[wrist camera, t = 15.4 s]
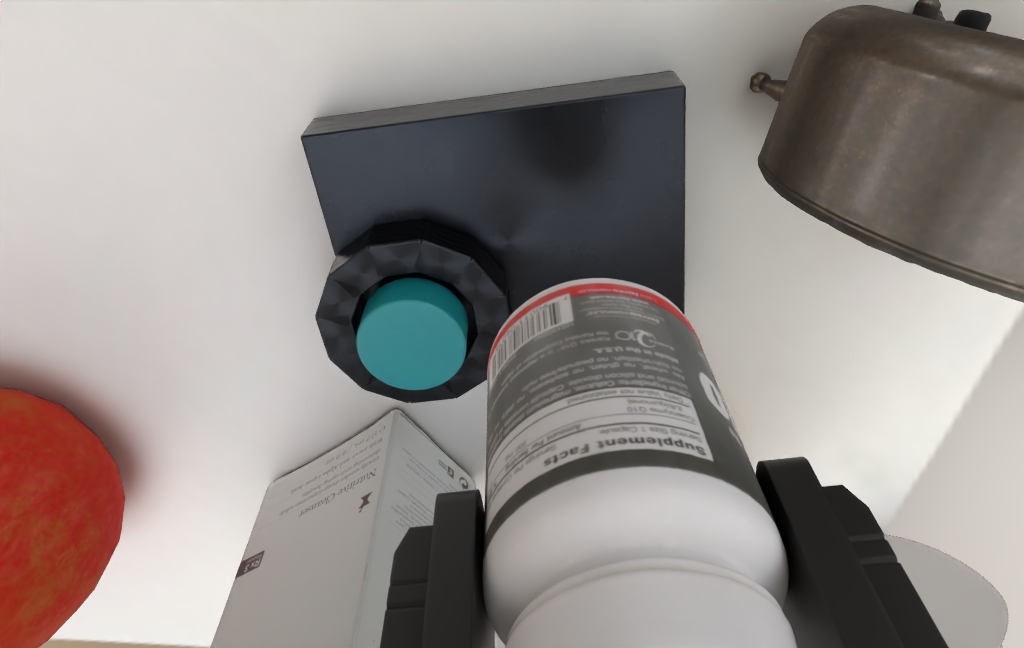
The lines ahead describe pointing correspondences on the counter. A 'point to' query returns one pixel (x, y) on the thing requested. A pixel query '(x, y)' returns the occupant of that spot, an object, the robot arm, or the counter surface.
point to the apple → (51, 516)
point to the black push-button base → (499, 205)
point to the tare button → (413, 334)
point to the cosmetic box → (336, 541)
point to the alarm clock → (908, 138)
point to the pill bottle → (621, 484)
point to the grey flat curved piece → (954, 596)
